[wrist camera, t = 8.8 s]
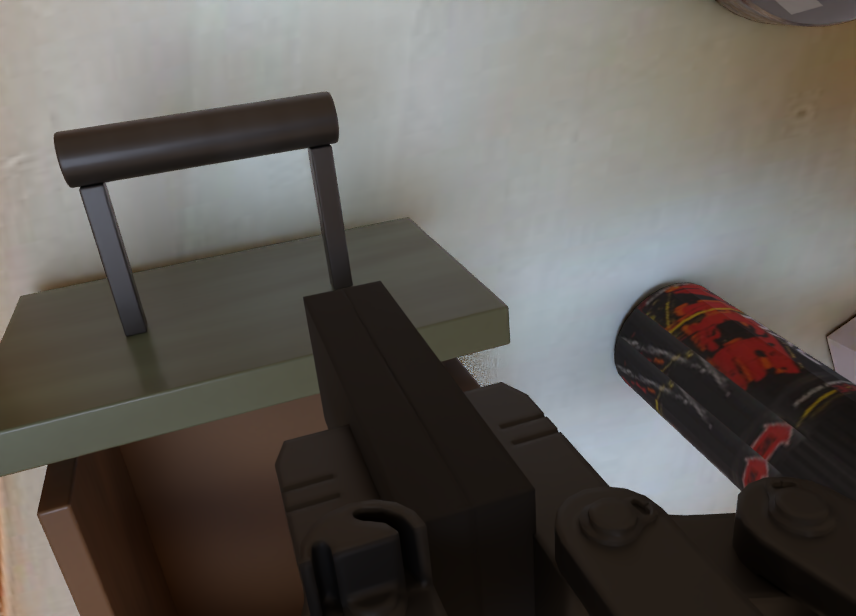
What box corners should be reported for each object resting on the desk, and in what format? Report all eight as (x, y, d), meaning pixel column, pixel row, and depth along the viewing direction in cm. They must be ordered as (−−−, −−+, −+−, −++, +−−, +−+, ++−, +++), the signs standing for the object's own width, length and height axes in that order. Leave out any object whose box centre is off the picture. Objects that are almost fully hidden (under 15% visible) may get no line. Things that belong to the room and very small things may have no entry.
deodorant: (598, 388, 35) (852, 643, 23) (640, 277, 33) (949, 493, 20) (690, 390, 37) (966, 622, 25) (736, 287, 35) (1065, 486, 23)
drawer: (-47, 121, 21) (-159, 196, 14) (391, 59, 25) (498, 91, 17) (157, 658, 31) (158, 875, 24) (447, 560, 35) (529, 721, 27)
